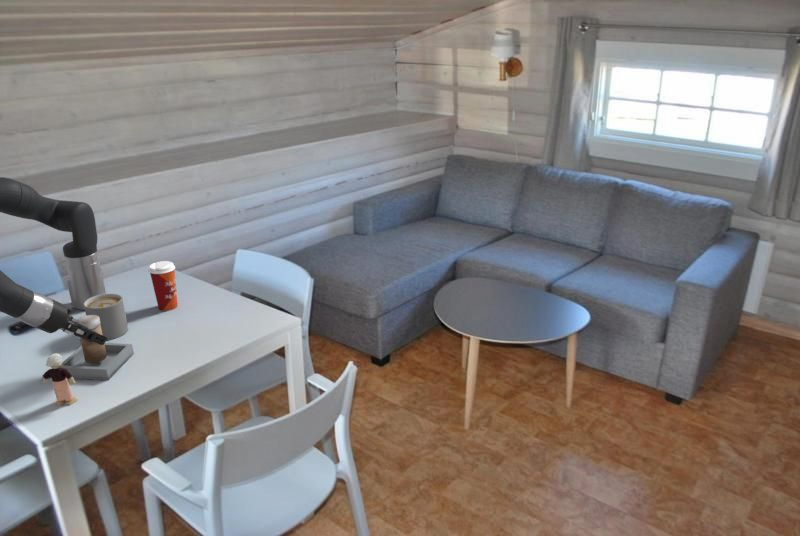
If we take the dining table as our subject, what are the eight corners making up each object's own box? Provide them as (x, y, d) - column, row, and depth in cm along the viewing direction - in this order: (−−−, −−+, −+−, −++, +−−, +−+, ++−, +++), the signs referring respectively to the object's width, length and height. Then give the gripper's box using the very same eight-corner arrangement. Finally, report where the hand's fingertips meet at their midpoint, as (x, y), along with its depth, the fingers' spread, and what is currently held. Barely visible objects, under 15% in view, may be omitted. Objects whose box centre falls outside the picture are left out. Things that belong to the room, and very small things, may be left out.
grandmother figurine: (84, 395, 153) (73, 349, 148) (79, 404, 150) (67, 357, 145) (50, 398, 152) (38, 351, 147) (44, 407, 149) (31, 360, 144)
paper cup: (176, 312, 195) (169, 269, 190) (151, 312, 195) (143, 269, 190) (184, 301, 202) (178, 260, 197) (160, 301, 202) (153, 260, 197)
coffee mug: (124, 338, 180) (118, 306, 176) (86, 342, 178) (79, 309, 174) (133, 317, 192) (127, 287, 188) (98, 321, 190) (91, 290, 186)
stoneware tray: (59, 377, 161) (57, 367, 160) (88, 351, 173) (85, 342, 172) (108, 379, 160) (106, 369, 158) (133, 353, 171) (132, 344, 170)
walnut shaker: (80, 362, 163) (71, 324, 159) (91, 352, 168) (83, 314, 164) (100, 363, 163) (92, 325, 158) (111, 353, 168) (103, 315, 163)
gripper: (19, 317, 155) (78, 342, 168) (44, 334, 147) (104, 360, 159) (37, 290, 157) (94, 317, 170) (62, 306, 148) (121, 333, 161)
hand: (99, 337), depth 165 cm, fingers closed on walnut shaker, 5 cm apart
